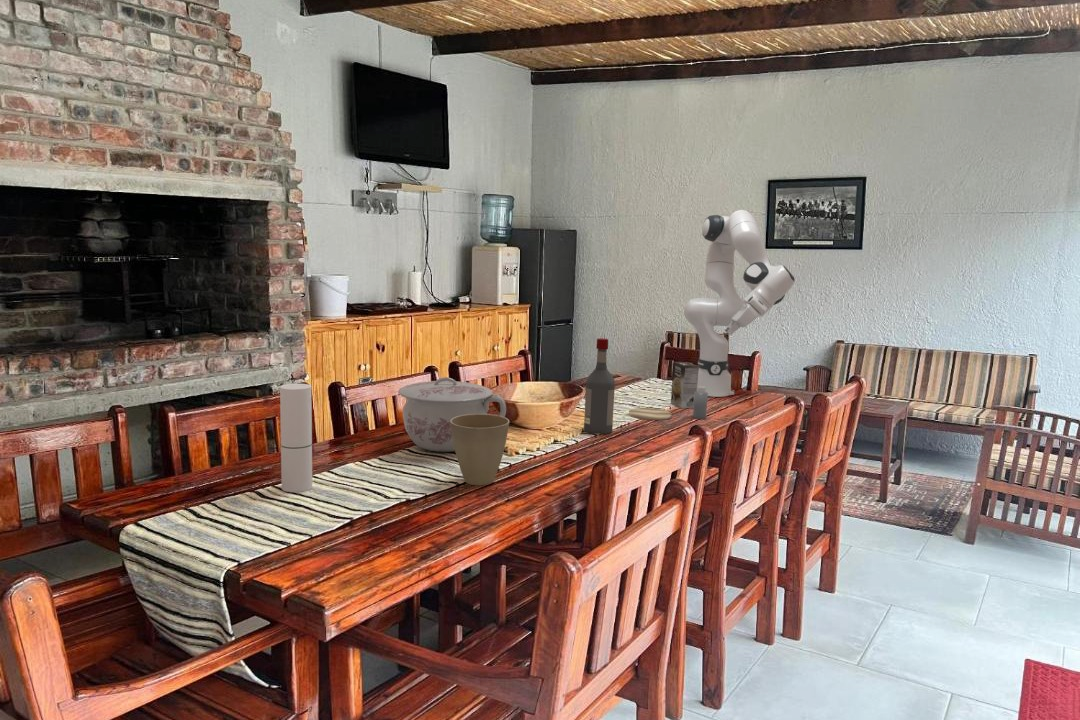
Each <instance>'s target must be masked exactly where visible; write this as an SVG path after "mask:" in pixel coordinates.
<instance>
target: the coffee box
mask: <svg viewBox="0 0 1080 720" xmlns="http://www.w3.org/2000/svg"><path fill="white" fill-rule="evenodd" d="M672 365H673V366H672V377H671V378H672V380H671V394H670V395H671V396H670V397H671V398H670V404H672V405H674V406H676V407H678V408H680V409H693V408H694V393H695V392H696V391H697V384H698V372H699V366H698V364H694V363H691V362H689V361H674V362H673V364H672Z"/></svg>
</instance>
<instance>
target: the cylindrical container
mask: <svg viewBox="0 0 1080 720" xmlns="http://www.w3.org/2000/svg"><path fill="white" fill-rule="evenodd" d="M279 399H280V400H279V402H280V403H279V407H280V408H279V409H280V410H279V411H280V413H279V415H280V463H281V464H280V469H281V472H280V473H281V490H282V491H284V492H287V493H300V492H302V493H303V492H306V491H309V490H311V489H312V488H313V434H312V433H313V431H312V430H313V427H312V426H313V422H312V421H313V419H312V417H313V415H312V414H313V413H312V412H313V411H312V408H313V407H312V385H311V384H307V383H288V384H287V383H286V384H283V385H280V386H279Z"/></svg>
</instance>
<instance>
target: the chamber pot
mask: <svg viewBox="0 0 1080 720" xmlns="http://www.w3.org/2000/svg"><path fill="white" fill-rule="evenodd" d="M397 393H398V395H400V396H401V397H403V398H405V399H406V401H405V403H404V405H403V407H402V419H403V424H404V428H405V431H406V433H407V434H408V436H409V437H410V439H411V441H412V442H413V443H414V445H416V447H418V448H419V449H420V448H421V449H423V450H426V451H427V452H428V451H429V452H434V453H456V452H455V448H454V443H453V438H452V431H451V424H450V420H451V419H452V418H454V417H457V416H461V415H468V414H488V411H489V407H490V405H489V404H490V403H493V402H496V403H498V404H499V406H500V413H499V415H498V416H502V417H506V414H507V413H506V412H507V403H506V401H505V400H504V398H503V397H502V396H501V395H499V394H497V393H494V394H493V390H492V389H491V388H489V387H487V386H484V385H480V384H476V383H472V382H467V381H456V380H455V379H453V378H451V377H449V376H448V377H446V376H443V377H440V378H438V379H437V380H430V381H429V380H428V381H420V382H415V383H411V384H408V385H407V384H406V385H404V386H402V387H400V388H398V390H397Z"/></svg>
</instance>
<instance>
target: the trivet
mask: <svg viewBox="0 0 1080 720" xmlns="http://www.w3.org/2000/svg"><path fill="white" fill-rule="evenodd" d="M628 415H629V416H630V417H632V418H634V419H638V420H645V421H665V420H670V419H672V416H673V415H672V412H670V411H668V410H664V409H660V408H654V407H653V408H652V407H635V408H631V409H629V411H628Z"/></svg>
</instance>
